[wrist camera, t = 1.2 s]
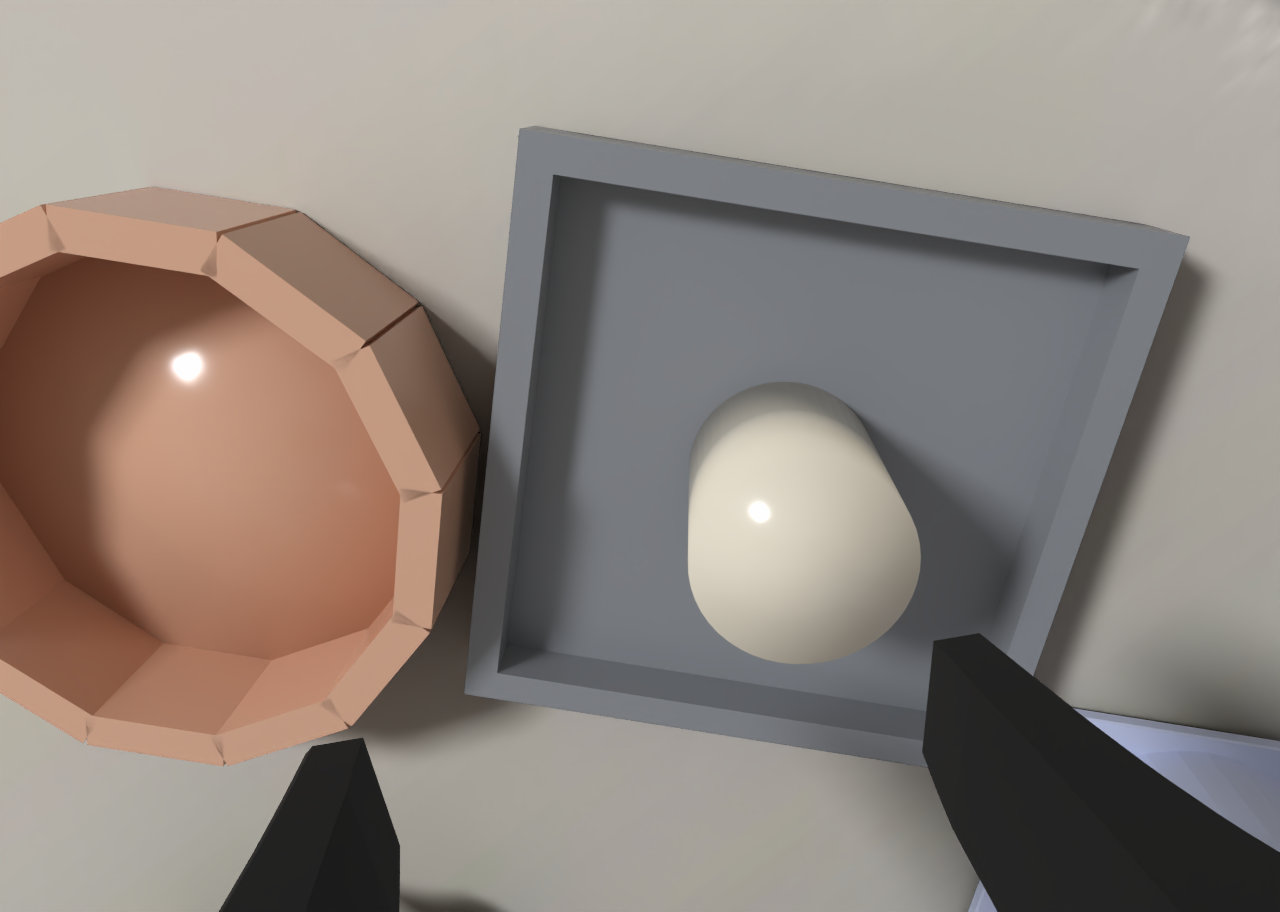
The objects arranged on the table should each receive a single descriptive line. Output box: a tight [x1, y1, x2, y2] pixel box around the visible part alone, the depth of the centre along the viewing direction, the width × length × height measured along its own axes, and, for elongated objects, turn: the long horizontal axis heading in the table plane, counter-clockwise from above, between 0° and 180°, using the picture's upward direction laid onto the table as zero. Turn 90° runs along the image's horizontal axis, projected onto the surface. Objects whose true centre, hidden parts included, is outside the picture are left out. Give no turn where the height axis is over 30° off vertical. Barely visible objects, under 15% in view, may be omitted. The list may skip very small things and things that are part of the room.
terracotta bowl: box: [0, 187, 481, 766], centre depth 20 cm, size 12×12×4 cm
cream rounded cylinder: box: [688, 382, 921, 664], centre depth 18 cm, size 4×4×4 cm
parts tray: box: [464, 126, 1190, 768], centre depth 20 cm, size 12×12×2 cm
